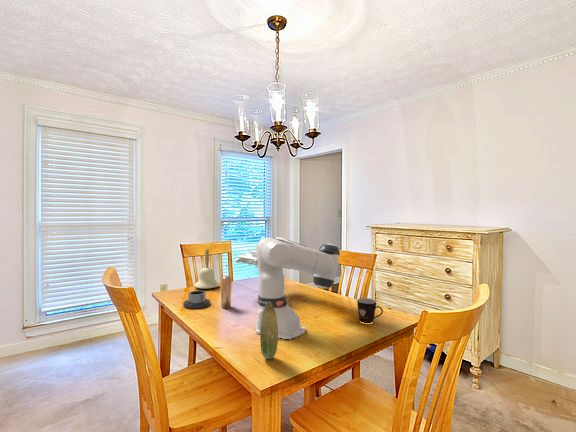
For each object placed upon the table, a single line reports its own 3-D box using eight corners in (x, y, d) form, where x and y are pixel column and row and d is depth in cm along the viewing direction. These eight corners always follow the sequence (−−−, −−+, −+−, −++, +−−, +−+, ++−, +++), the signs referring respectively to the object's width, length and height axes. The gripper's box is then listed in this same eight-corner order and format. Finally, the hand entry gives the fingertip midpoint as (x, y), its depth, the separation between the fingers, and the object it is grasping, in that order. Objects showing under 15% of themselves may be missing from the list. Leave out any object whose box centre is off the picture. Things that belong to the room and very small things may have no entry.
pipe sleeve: (215, 304, 169) (215, 292, 169) (194, 310, 158) (194, 298, 158) (199, 299, 178) (199, 287, 177) (177, 305, 166) (177, 293, 166)
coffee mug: (353, 320, 148) (353, 299, 148) (368, 317, 151) (369, 297, 151) (367, 329, 137) (368, 306, 137) (384, 326, 140) (384, 304, 140)
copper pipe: (232, 306, 165) (232, 276, 164) (225, 309, 161) (225, 278, 160) (226, 305, 168) (226, 275, 167) (219, 307, 164) (219, 277, 163)
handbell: (220, 289, 199) (220, 250, 198) (195, 291, 193) (196, 251, 192) (217, 283, 213) (217, 247, 212) (193, 285, 207) (193, 248, 206)
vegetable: (281, 358, 110) (281, 302, 109) (270, 365, 105) (271, 306, 104) (267, 353, 113) (268, 299, 113) (256, 360, 108) (257, 303, 107)
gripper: (272, 266, 179) (256, 270, 168) (247, 262, 191) (230, 265, 180) (273, 255, 178) (256, 258, 167) (247, 251, 191) (230, 254, 180)
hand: (242, 262), depth 174 cm, fingers open, 8 cm apart
